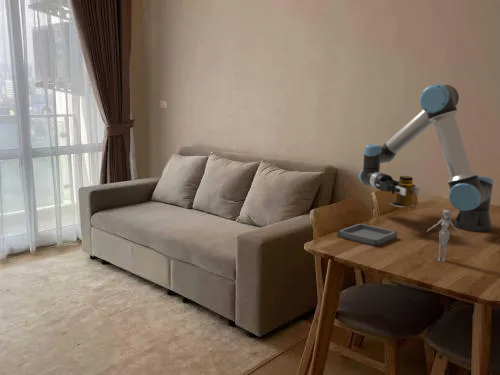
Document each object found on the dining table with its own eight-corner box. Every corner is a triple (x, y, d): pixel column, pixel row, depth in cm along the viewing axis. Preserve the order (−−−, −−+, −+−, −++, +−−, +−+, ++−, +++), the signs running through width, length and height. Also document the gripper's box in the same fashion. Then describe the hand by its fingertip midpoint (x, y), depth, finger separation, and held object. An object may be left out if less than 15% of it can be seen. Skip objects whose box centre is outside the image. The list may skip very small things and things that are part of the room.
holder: (396, 237, 197) (396, 231, 196) (375, 246, 184) (375, 240, 184) (359, 229, 208) (359, 223, 208) (337, 236, 196) (337, 230, 195)
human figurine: (423, 258, 173) (428, 208, 169) (424, 255, 176) (429, 206, 173) (459, 264, 168) (465, 213, 164) (460, 260, 171) (466, 211, 168)
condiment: (415, 205, 204) (418, 177, 201) (401, 207, 200) (403, 178, 197) (402, 202, 210) (404, 174, 208) (388, 204, 206) (390, 176, 203)
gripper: (399, 189, 224) (431, 200, 202) (362, 190, 219) (391, 201, 197) (400, 173, 223) (433, 182, 201) (363, 174, 217) (392, 183, 196)
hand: (412, 192), depth 199 cm, fingers closed on condiment, 6 cm apart
